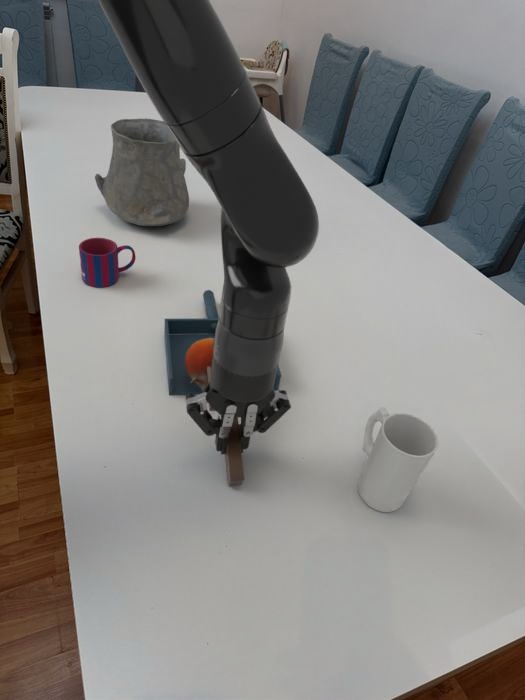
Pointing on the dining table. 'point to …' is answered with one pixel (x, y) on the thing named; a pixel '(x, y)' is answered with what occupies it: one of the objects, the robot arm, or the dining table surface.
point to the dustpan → (181, 339)
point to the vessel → (145, 174)
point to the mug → (394, 458)
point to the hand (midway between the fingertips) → (231, 448)
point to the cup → (101, 261)
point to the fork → (232, 450)
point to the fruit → (199, 361)
